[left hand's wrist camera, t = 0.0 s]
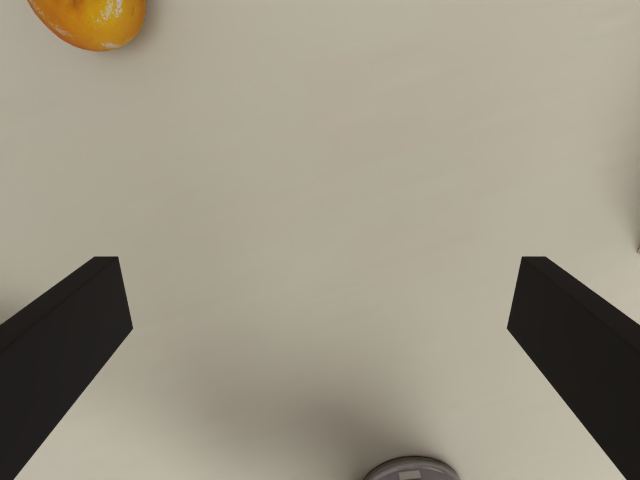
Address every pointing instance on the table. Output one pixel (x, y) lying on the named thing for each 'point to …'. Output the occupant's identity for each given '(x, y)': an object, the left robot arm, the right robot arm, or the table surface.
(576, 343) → the left robot arm
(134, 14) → the fruit
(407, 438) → the table surface
